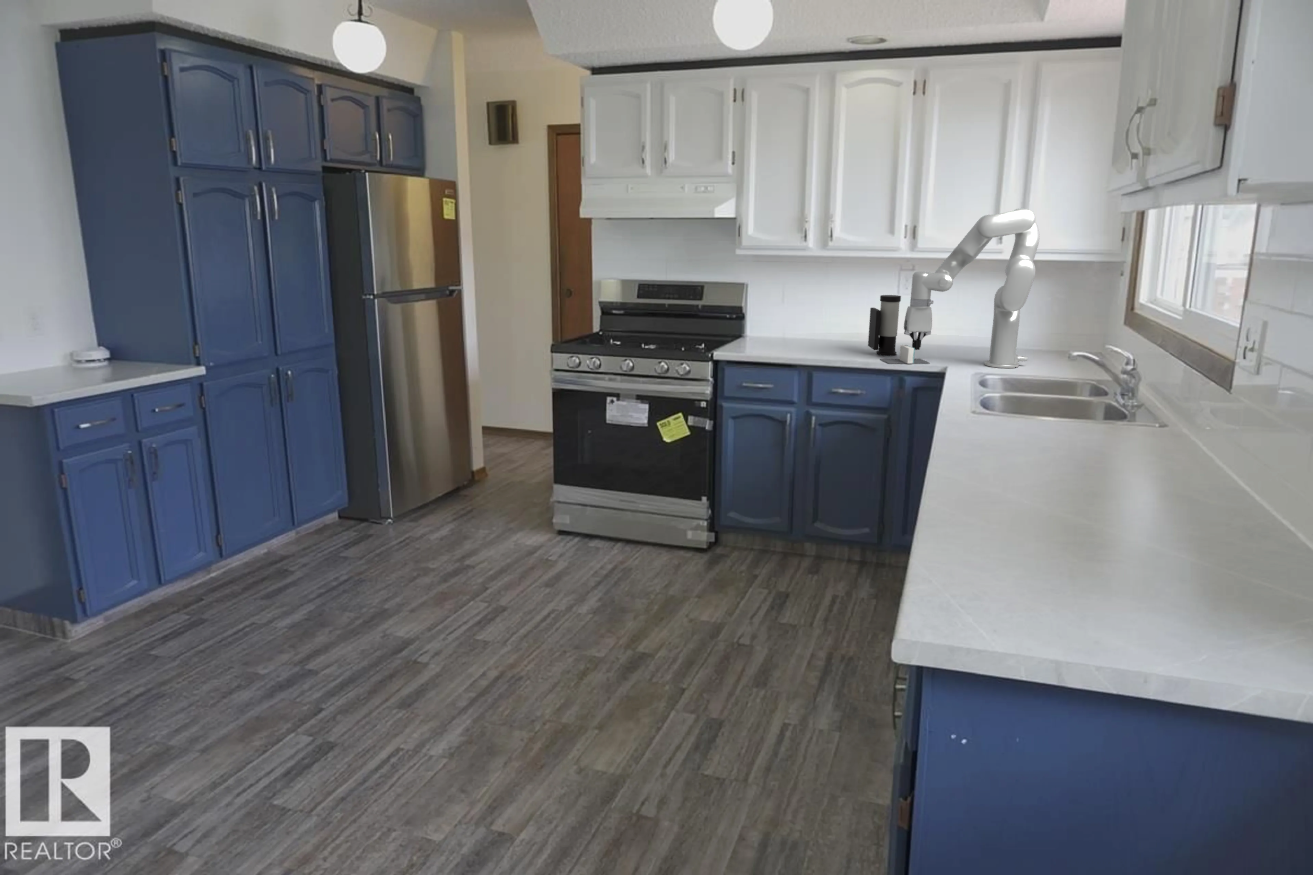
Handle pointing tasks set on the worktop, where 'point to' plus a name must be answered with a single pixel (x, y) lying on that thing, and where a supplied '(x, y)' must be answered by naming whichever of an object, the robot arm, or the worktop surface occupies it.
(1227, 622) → the worktop surface
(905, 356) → the deck
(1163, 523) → the worktop surface
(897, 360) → the mat
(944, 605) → the worktop surface
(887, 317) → the light fixture
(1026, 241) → the robot arm
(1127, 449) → the worktop surface
